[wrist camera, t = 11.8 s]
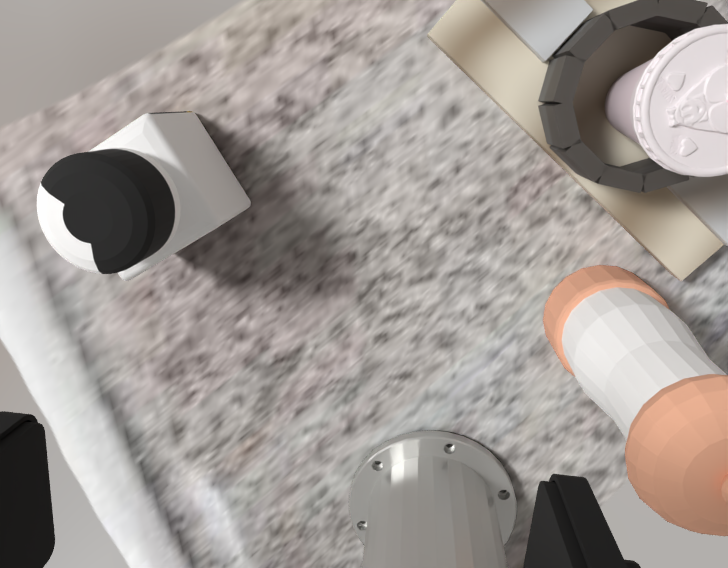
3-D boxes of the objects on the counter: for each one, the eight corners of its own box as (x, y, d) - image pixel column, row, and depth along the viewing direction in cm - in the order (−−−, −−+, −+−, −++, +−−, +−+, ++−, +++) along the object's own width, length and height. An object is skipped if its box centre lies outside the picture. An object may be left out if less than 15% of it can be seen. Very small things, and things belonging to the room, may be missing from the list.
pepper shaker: (521, 331, 41) (607, 518, 22) (586, 244, 38) (740, 373, 20) (608, 383, 41) (760, 607, 23) (677, 300, 39) (905, 475, 21)
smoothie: (704, 138, 35) (883, 161, 21) (593, 172, 36) (698, 215, 22) (684, 26, 33) (865, -24, 20) (569, 66, 34) (667, 44, 21)
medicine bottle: (194, 109, 38) (99, 112, 27) (254, 204, 40) (189, 246, 28) (110, 164, 40) (-14, 190, 28) (171, 254, 41) (77, 312, 30)
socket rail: (803, 159, 36) (870, 169, 31) (671, 274, 39) (711, 301, 33) (550, -109, 33) (576, -149, 28) (427, 36, 36) (429, 25, 30)
